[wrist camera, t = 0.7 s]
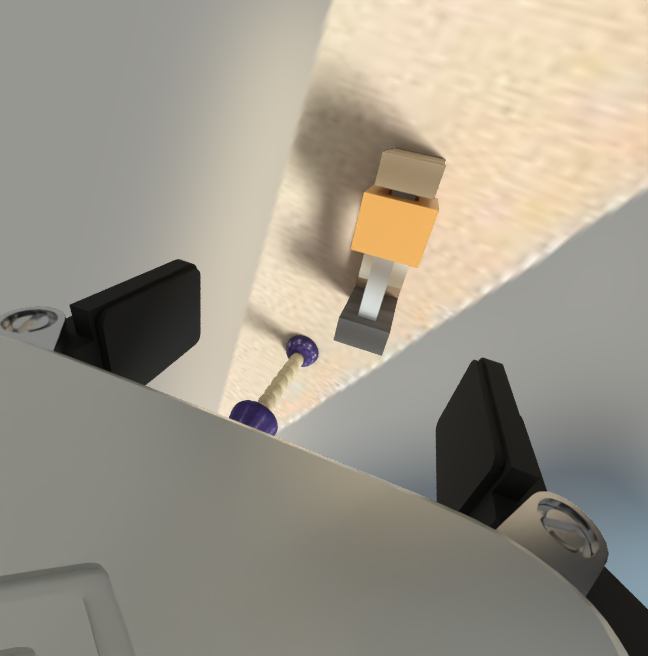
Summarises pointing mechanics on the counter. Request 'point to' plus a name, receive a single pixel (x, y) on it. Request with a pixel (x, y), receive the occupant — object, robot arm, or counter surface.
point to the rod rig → (381, 274)
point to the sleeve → (394, 226)
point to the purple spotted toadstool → (276, 387)
